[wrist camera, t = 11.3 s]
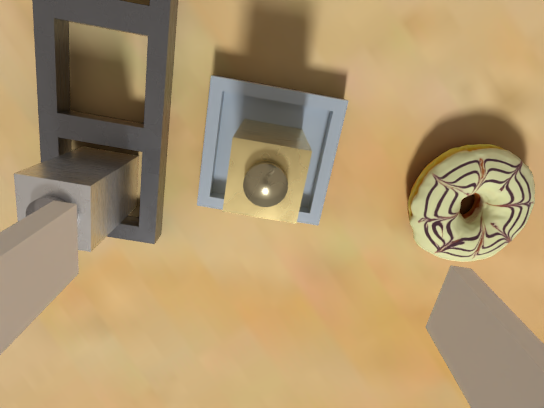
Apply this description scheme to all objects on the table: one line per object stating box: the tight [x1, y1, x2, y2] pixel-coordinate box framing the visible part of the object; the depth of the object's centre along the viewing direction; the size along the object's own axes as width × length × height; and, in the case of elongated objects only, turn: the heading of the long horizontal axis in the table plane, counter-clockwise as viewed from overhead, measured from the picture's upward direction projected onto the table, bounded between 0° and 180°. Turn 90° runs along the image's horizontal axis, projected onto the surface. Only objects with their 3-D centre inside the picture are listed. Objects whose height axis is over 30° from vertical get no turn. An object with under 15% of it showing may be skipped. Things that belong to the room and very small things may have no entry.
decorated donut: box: [408, 144, 535, 262], centre depth 32 cm, size 10×11×4 cm
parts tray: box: [197, 75, 348, 225], centre depth 31 cm, size 11×11×2 cm
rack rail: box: [32, 0, 178, 244], centre depth 29 cm, size 28×10×2 cm, turn 170°
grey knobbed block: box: [14, 146, 139, 252], centre depth 28 cm, size 5×5×10 cm
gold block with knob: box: [222, 119, 312, 224], centre depth 27 cm, size 5×5×10 cm
